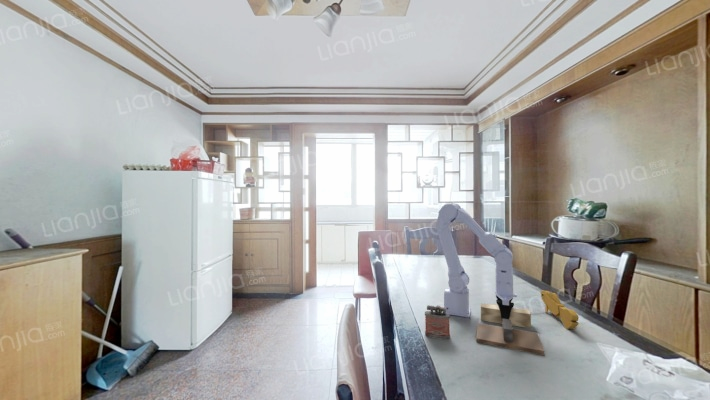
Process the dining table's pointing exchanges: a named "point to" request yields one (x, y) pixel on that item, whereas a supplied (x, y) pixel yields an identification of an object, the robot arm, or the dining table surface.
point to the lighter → (437, 322)
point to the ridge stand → (509, 337)
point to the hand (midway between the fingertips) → (504, 317)
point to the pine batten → (516, 316)
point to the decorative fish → (559, 310)
